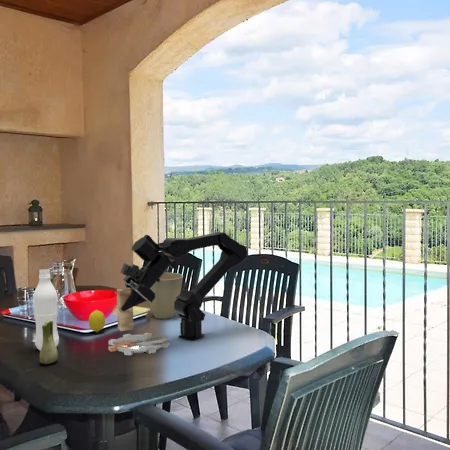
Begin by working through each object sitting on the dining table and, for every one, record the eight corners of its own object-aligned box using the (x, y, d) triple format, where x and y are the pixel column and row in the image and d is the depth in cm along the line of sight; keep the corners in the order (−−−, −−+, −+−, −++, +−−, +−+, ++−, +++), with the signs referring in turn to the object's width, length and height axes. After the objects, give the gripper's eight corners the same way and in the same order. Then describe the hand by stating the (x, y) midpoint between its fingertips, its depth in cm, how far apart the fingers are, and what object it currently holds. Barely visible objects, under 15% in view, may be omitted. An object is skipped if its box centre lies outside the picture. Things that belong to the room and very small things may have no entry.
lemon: (101, 335, 179) (100, 312, 178) (86, 334, 180) (85, 311, 179) (108, 330, 184) (107, 308, 183) (93, 329, 185) (92, 307, 185)
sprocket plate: (180, 342, 170) (180, 338, 170) (141, 358, 154) (141, 354, 154) (137, 333, 181) (136, 329, 180) (95, 348, 165) (95, 343, 165)
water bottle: (63, 346, 167) (61, 268, 164) (49, 353, 160) (46, 272, 158) (45, 344, 169) (42, 267, 167) (29, 351, 162) (27, 271, 160)
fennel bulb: (51, 358, 155) (49, 318, 154) (62, 361, 153) (61, 320, 152) (35, 364, 150) (33, 323, 149) (47, 367, 148) (45, 325, 147)
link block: (130, 326, 167) (129, 287, 166) (133, 329, 163) (132, 290, 162) (117, 327, 165) (116, 288, 164) (120, 331, 162) (119, 291, 161)
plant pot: (136, 318, 200) (135, 277, 199) (161, 310, 213) (160, 271, 212) (167, 323, 193) (167, 280, 191) (191, 314, 205) (190, 274, 204)
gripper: (128, 250, 172) (95, 286, 169) (144, 258, 155) (107, 298, 152) (152, 272, 176) (120, 308, 173) (169, 281, 159) (135, 321, 156)
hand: (120, 308), depth 163 cm, fingers closed on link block, 4 cm apart
